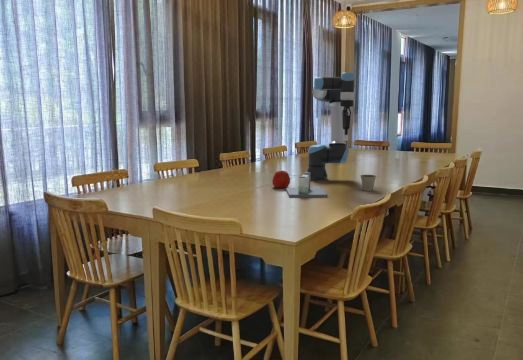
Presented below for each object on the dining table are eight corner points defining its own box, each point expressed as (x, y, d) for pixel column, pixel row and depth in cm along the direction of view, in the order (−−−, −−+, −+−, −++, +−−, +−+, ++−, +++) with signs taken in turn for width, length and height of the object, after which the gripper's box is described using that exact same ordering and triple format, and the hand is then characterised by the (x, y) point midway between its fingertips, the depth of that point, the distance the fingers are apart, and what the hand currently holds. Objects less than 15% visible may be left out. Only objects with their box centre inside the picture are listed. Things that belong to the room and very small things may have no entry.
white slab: (304, 186, 266) (304, 171, 264) (310, 187, 265) (311, 172, 263) (298, 191, 251) (298, 175, 249) (305, 192, 249) (305, 176, 248)
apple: (288, 189, 269) (289, 171, 267) (270, 188, 271) (271, 171, 269) (291, 186, 279) (291, 169, 277) (273, 185, 281) (274, 168, 279)
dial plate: (285, 190, 267) (285, 180, 266) (320, 189, 267) (321, 180, 266) (289, 197, 245) (289, 187, 244) (327, 197, 246) (327, 187, 245)
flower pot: (364, 191, 262) (365, 177, 261) (356, 189, 271) (357, 174, 270) (378, 191, 265) (379, 176, 263) (370, 188, 274) (371, 174, 272)
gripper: (356, 99, 254) (354, 141, 258) (350, 99, 267) (349, 139, 271) (343, 99, 254) (341, 141, 258) (338, 99, 267) (336, 139, 271)
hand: (345, 140), depth 265 cm, fingers closed
